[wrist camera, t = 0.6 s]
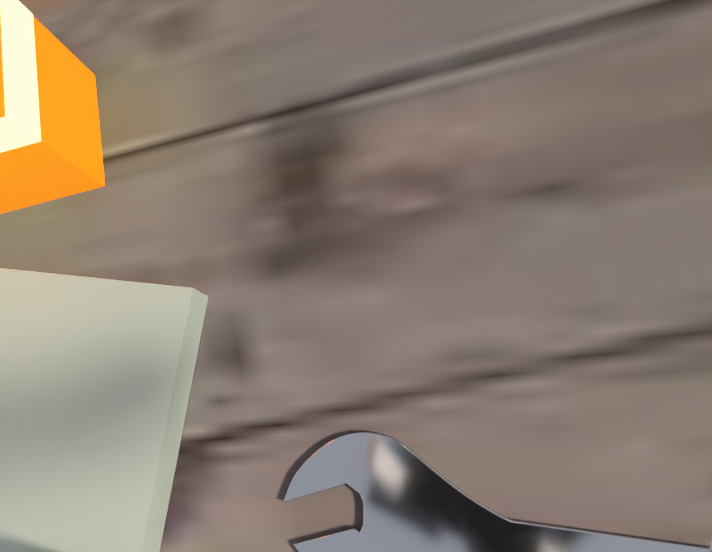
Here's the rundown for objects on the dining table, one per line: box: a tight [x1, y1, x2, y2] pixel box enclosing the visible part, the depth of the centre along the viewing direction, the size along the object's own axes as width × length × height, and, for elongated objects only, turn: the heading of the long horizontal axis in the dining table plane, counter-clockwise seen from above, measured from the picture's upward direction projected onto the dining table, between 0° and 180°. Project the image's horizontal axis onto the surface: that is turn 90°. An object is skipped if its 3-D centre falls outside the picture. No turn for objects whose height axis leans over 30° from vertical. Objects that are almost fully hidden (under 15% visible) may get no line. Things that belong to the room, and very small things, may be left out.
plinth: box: [0, 268, 208, 552], centre depth 33 cm, size 16×16×6 cm
